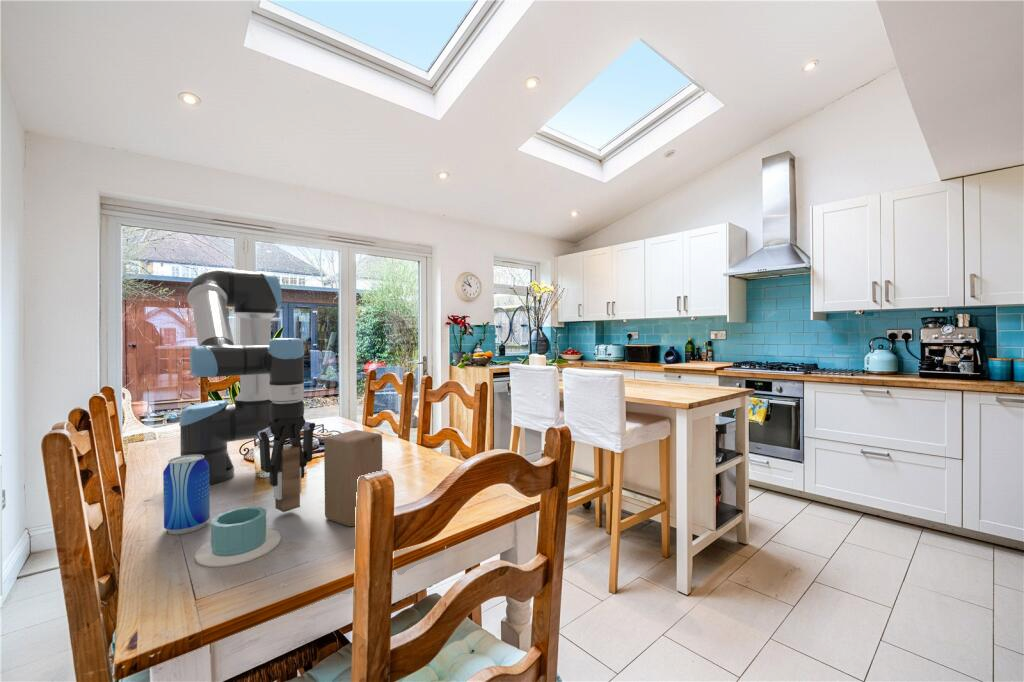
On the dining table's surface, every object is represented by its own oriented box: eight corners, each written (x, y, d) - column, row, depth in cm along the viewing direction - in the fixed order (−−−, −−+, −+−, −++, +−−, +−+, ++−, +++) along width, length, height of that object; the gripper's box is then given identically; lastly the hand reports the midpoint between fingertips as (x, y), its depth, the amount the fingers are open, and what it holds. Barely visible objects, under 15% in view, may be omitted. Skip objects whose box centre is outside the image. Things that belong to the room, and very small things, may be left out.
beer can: (172, 522, 101) (171, 455, 100) (214, 517, 104) (213, 451, 103) (157, 538, 93) (156, 465, 93) (203, 532, 96) (202, 461, 96)
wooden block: (384, 513, 106) (383, 433, 106) (350, 529, 97) (350, 442, 97) (357, 505, 111) (356, 428, 111) (323, 519, 102) (322, 436, 102)
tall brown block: (275, 508, 105) (274, 447, 104) (291, 502, 108) (291, 444, 108) (283, 512, 103) (283, 450, 102) (299, 506, 106) (299, 447, 105)
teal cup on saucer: (183, 551, 87) (182, 519, 87) (261, 524, 99) (260, 496, 99) (212, 575, 79) (212, 540, 78) (294, 543, 91) (293, 512, 91)
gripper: (256, 407, 95) (257, 510, 96) (328, 398, 109) (328, 488, 110) (242, 403, 100) (243, 502, 101) (312, 395, 114) (312, 481, 114)
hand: (287, 494), depth 105 cm, fingers closed on tall brown block, 4 cm apart
